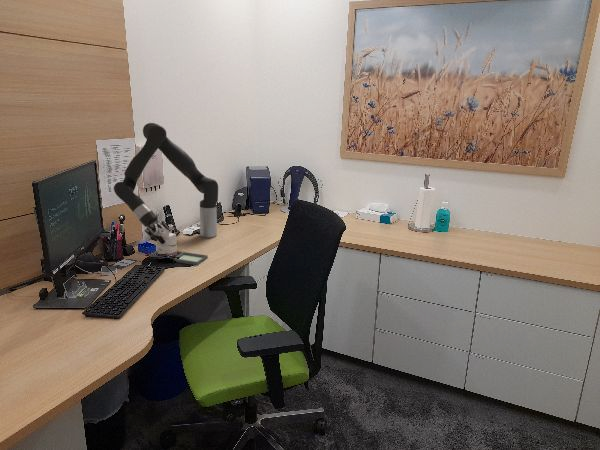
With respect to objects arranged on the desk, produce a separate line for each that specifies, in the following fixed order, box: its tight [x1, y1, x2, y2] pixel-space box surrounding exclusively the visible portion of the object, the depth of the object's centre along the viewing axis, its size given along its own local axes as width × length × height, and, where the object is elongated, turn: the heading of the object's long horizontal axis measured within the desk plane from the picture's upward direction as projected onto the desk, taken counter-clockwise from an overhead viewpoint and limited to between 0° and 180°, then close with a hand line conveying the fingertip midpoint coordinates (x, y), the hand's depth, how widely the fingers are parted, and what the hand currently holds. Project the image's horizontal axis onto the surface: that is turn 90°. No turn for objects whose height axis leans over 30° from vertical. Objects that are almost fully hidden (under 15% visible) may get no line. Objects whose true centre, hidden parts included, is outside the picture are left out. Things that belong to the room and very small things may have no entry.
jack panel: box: [149, 250, 209, 266], centre depth 214 cm, size 10×26×2 cm, turn 74°
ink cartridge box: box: [156, 228, 178, 255], centre depth 213 cm, size 9×5×15 cm, turn 62°
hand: (167, 241), depth 213 cm, fingers closed on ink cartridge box, 5 cm apart
